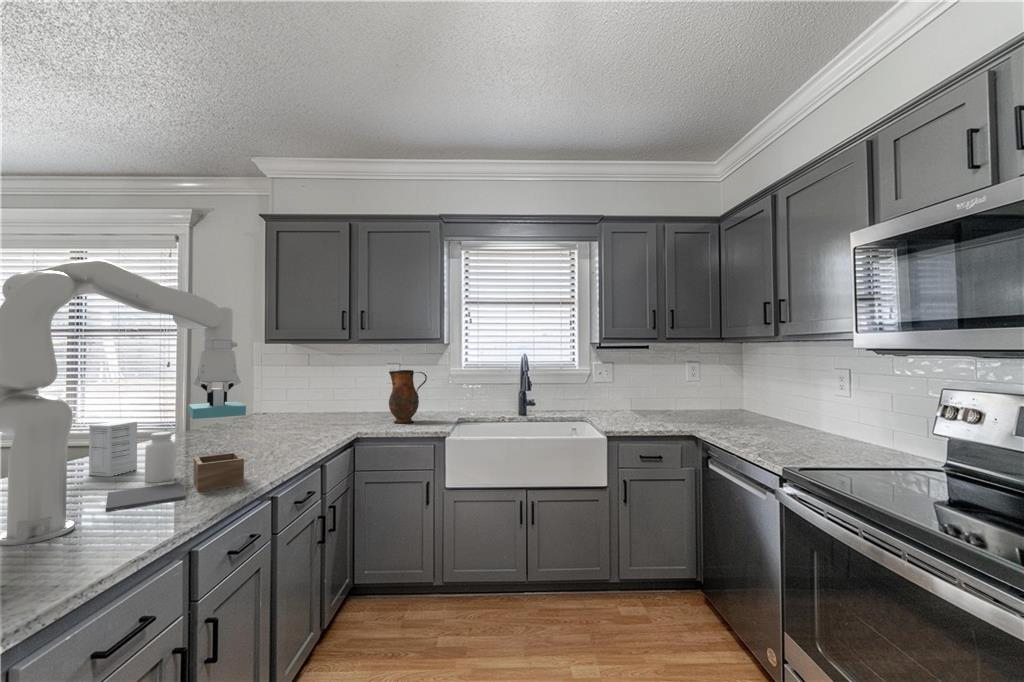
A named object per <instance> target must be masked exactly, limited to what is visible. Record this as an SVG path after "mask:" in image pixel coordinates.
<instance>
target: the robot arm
mask: <svg viewBox="0 0 1024 682" xmlns="http://www.w3.org/2000/svg"><path fill="white" fill-rule="evenodd" d="M1 289H2V295H3V297H4V299H5V300H4V301H3V302H2V304H1V305H0V433H2V434H6V435H10V436H11V435H12V436H13V439H12V442H11V445H10V448H9V452H8V459H7V500H6V501H7V502H6V503H7V505H6V507H7V511H6V512H7V514H6V530H5V531H2V532H1V533H0V545H1V546H21V545H26V544H28V545H29V544H33V543H38V542H43V541H47V540H51V539H54V538H58V537H60V536H63V535H66V534H68V533H69V532H71V531H73V530H74V529H75V528H76V527H75V526H76V523H75V521H73V520H71V519H67V487H68V486H67V482H68V480H67V479H68V446H69V438H70V433H71V429H72V425H73V419H74V417H73V416H74V414H73V411H72V408H71V406H70V404H68V402H66V401H65V400H63V399H61V398H59V397H58V396H57V397H56V396H53V395H48V394H40V393H39V390H41V389H45V388H48V387H49V386H51V385H52V384H54V382H55V380H57V377H58V372H59V371H58V364H57V358H56V355H55V354H56V352H55V349H54V343H53V339H52V336H53V335H52V321H53V318H54V317H55V315H56V313H57V312H58V311H59V310H60V309H61V308H62V307H63V306H66V305H67V304H69V303H70V302H71V301H72V300H73V299H74V298H75V297H79V296H82V295H86V294H87V295H88V294H89V295H90V294H96V295H100V296H102V297H104V298H107V299H110V300H112V301H115V302H117V303H120V304H122V305H126V306H127V307H130V308H133V309H135V310H138V311H141V312H147V313H151V314H153V313H155V314H163V315H169V316H172V319H173V321H174V323H175V325H177V326H178V327H180V328H182V329H188V330H189V329H190V330H199V329H201V330H202V329H204V330H203V331H204V332H203V333H204V334H203V337H204V338H203V349H202V350H200V353H199V357H198V364H197V365H198V366H197V375H196V377H195V378H194V380H193V383H192V384H193V385H194V386H197V387H199V388H202V389H203V391H205V392H206V403H209V405H210V406H211V405H213V392H212V388H213V383H222V389H223V390H224V405H225V402H228V392H229V391H230V390H231V389H232V388H233V387H235V386H237V385H239V384H241V379H240V378H239V376H238V374H237V373H238V370H237V359H236V352H235V350H233V348H235V347H238V342H235V341H233V323H234V322H233V318H234V314H233V313H234V312H233V310H232V308H230V307H227V306H218V305H216V304H215V303H214V302H212V301H209V300H208V299H206V298H204V297H202V296H199V295H197V294H193V293H191V292H188V291H184V290H182V289H181V290H180V289H178V288H175V287H171V286H169V285H166V284H161V283H158V282H155V281H153V280H150V279H148V278H146V277H144V276H141V275H140V274H138V273H135V272H133V271H132V270H129V269H126V268H124V267H122V266H119V265H117V264H116V263H113V262H111V261H108V260H104V259H99V258H98V259H96V258H95V259H93V258H92V259H83V260H75V261H70V262H65V263H63V264H58V265H53V266H50V267H45V268H40V269H35V270H30V271H25V272H19V273H16V274H14V275H12V276H9V277H8V278H7V279H6V280H5V281H4V282H3V285H2V288H1Z"/></svg>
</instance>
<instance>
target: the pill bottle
mask: <svg viewBox="0 0 1024 682" xmlns="http://www.w3.org/2000/svg"><path fill="white" fill-rule="evenodd" d="M144 458H145V460H144V482H145V481H146V482H145V483H149V482H150V483H151V484H152V483H153V484H154V483H156V482H157V483H163V482H168V481H172V480H174V479H175V477H176V464H177V463H176V461H177V459H176V458H177V443H176V442H175V441H174V440H172V432H171V431H159V432H153V433H151V434H150V442H148V443H147V444H146V445H145V456H144ZM157 483H156V484H157Z"/></svg>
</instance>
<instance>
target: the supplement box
mask: <svg viewBox="0 0 1024 682" xmlns="http://www.w3.org/2000/svg"><path fill="white" fill-rule="evenodd" d="M88 428H89V431H88V436H89V437H88V438H89V441H88V443H89V447H88V476H95V477H96V476H97V477H106V478H110V477H114V475H115V476H118V474H119V475H122V474H121V473H123V474H126V472H127V473H130V472H129V471H131V472H134V471H133V470H136V471H138V421H127V420H126V421H124V420H115V421H109V422H102V423H101V422H100V423H94V424H89V427H88Z"/></svg>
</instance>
